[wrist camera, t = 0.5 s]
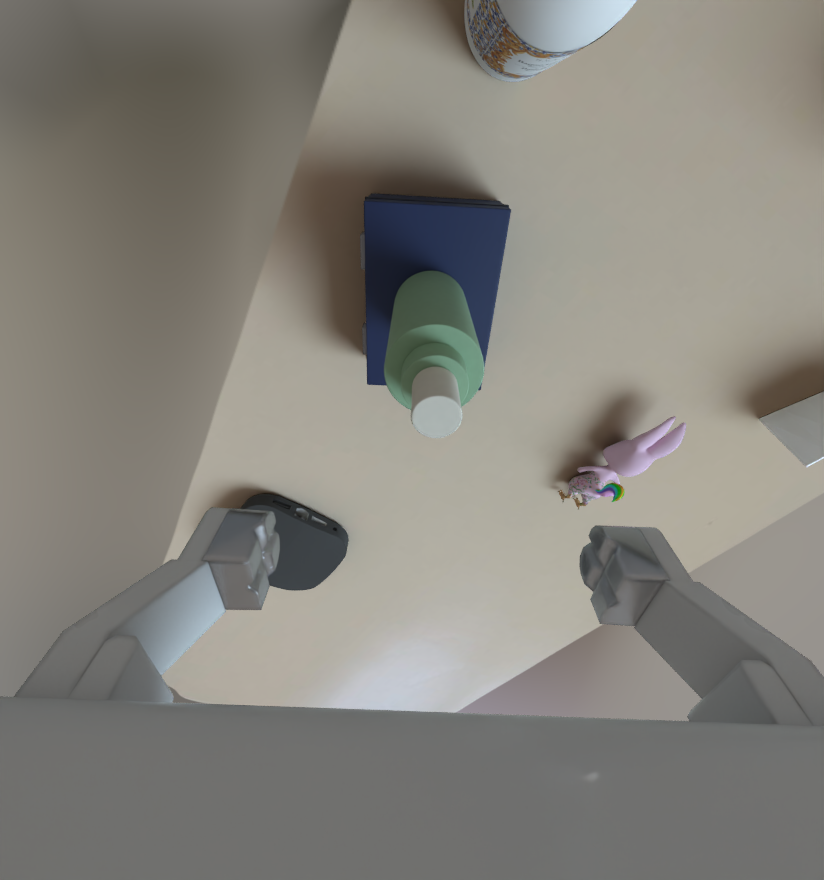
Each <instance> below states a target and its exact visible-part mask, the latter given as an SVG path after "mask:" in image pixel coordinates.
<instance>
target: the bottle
mask: <svg viewBox="0 0 824 880" xmlns="http://www.w3.org/2000/svg"><path fill="white" fill-rule="evenodd" d="M483 376H484V361H483V356H482V353H481V349H480V346H479V342H478V339H477V336H476V332H475V329H474V325H473V322H472V319H471V315H470V312H469V308H468V305H467V302H466V298H465V295H464V292H463V290H462V288H461V287H460V285H459V284H458V283H457V282H456V281H455V280H454V279H453V278H452V277H450V276H449V275H447V274H445V273H442V272H439V271H423V272H419V273H417V274H415V275H413V276H411V277H409V278H408V279H407V280H406V281H405V282H404V283H403V284H402V285H401V287H400V288H399V290H398V292H397V294H396V297H395V301H394V307H393V314H392V320H391V326H390V332H389V338H388V345H387V351H386V357H385V363H384V377H385V381H386V384H387V387H388V389H389V391H390V392H391V394H392V395H393V397H394V398H395V399H396V400H397V401H398V402H399V403H401V404H402V405H403V406H405V407H406V408H408V409H410V410H411V421H412V424H413V426H414V427H415V429H416V430H417V431H418V432H419V433H421V434H422V435H425V436H427V437H431V438H441V437H445V436H448V435H450V434H451V433H453V432H454V431H455V430H456V429H457V428H458V427H459V425H460V423H461V421H462V409H461V407H462V406H463V405H465V404H466V403H467V402H468V401H470V399H471V398H472V397H473V396H474V395H475V394H476V392H477V391H478V389H479V387H480V385H481V383H482V380H483Z"/></svg>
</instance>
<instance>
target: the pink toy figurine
mask: <svg viewBox="0 0 824 880" xmlns="http://www.w3.org/2000/svg"><path fill="white" fill-rule="evenodd" d="M675 419H676V417H675V416H674V417H671V418H669V419H667V420H666V421H664V422H663V423H662V424H660V425H659V426H657V427H655V428H653V429H652V430H650V431H648V432H646V433H643V434H641V435H639V436H637V437H635V438H633V439H632V440H623V441H620V442H618V443H616V444H614V445H611V446H609V447H606V448H605V449H604V451H603V455H604V458H605V459H606V461H607V462H608V465H607V466H587V467H580V468H578V469H577V470H578V472H584V471H593V472H592V473H591V474H585V475H581V476H576V477H574V478H572V479H571V480H570V482H569V490H568V495H567V496H565V495H564V493H563V492H562V490H560V491H561V492H560V491H558V492H560V493H559V494H560V496H561V499H563V502H564V498H571V496H572V495H575V494H581V496H582V500H583V502H582V503H580V502H579V501H578V498H576V499H574V498H573V499H574V500H575V502H576V505H577V507H578V510H579V506H586V505H587V503H588V502H589V501H590V500H592V499H598V498H599V497H601V496H605V497H607V496H612V495H614V498H613V501H612V502H614V501H617V500H619V499H621V498H622V497H623V495H624V489H623V487H622V486H621V485H620V481H619V479H618V476H617V475H616V473H617V474H619V475H622V476H626V477H630V476H635V475H638V474H640V473H642V472H643V471H645V470H646V469H647V468H648V467H649V466H650V465H651V464H652V462H653V461H654V460H655V459H658V458H662V457H664V456H666V455H668V454H670V453H671V452H672V451H674V450H675V449H676V448H677V447H678V446H679V445H680V443H681V442H682V440H683V437H684V434H685V430H686V423H684V422H683V423H682V424H680V425H679V426H678V427H677V428H675V429H674V430H672V431H671V432H670V433H668V434H667V435H666V436H664V437H662V436H663V435H664V434H665V433H666V432H667V431H668V429H669V428H670V426H671V425H672V423H673V422H674V420H675ZM661 437H662V438H661ZM660 438H661V439H660ZM608 480H612V481H613V482H614V483H610V484H607V485H606V486H605V487H604V484H605V482H606V481H608Z"/></svg>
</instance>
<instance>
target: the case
mask: <svg viewBox="0 0 824 880" xmlns="http://www.w3.org/2000/svg"><path fill="white" fill-rule="evenodd" d="M510 213H511V209H509V205H504V204H502V203H501V202H500V201H492V200H475V199H458V198H440V197H423V196H406V195H389V194H371V195H370V196H369V197H365V201H364V232H362V233H361V235H360V248H361V269H365V290H366V323H364V324H363V328H362V333H363V354H367V384H368V385H387V384H386V381H385V377H384V363H385V357H386V351H387V345H388V338H389V332H390V326H391V320H392V314H393V307H394V301H395V297H396V294H397V292H398V290H399V288H400V287H401V285H402V284H403V283H404V282H405V281H406V280H407V279H408V278H409V277H411V276H413V275H415V274H417V273H419V272H423V271H439V272H442V273H445V274H447V275H449V276H450V277H452V278H453V279H454V280H455V281H456V282H457V283H458V284H459V285H460V287H461V288H462V290H463V292H464V295H465V298H466V302H467V305H468V308H469V312H470V315H471V319H472V322H473V325H474V329H475V332H476V336H477V339H478V342H479V346H480V349H481V353H482V356H483V361H484V367H485V361H486V355H487V349H488V343H489V337H490V331H491V325H492V320H493V314H494V308H495V302H496V296H497V290H498V284H499V278H500V272H501V266H502V260H503V255H504V249H505V243H506V237H507V231H508V225H509V219H510ZM481 385H482V383H481ZM481 385H480V387H479V389H478V390H481Z"/></svg>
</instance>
